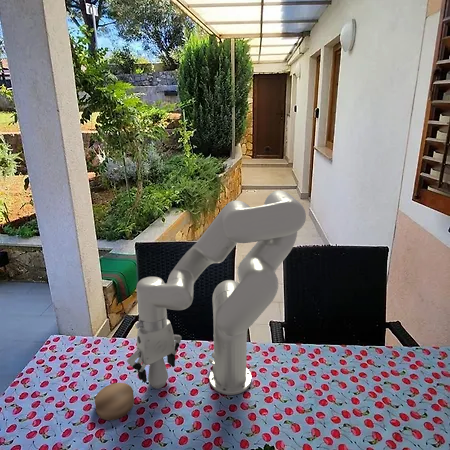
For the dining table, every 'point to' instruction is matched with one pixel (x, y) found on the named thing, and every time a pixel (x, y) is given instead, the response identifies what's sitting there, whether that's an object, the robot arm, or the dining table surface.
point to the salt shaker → (157, 374)
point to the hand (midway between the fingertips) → (157, 371)
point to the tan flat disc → (114, 401)
